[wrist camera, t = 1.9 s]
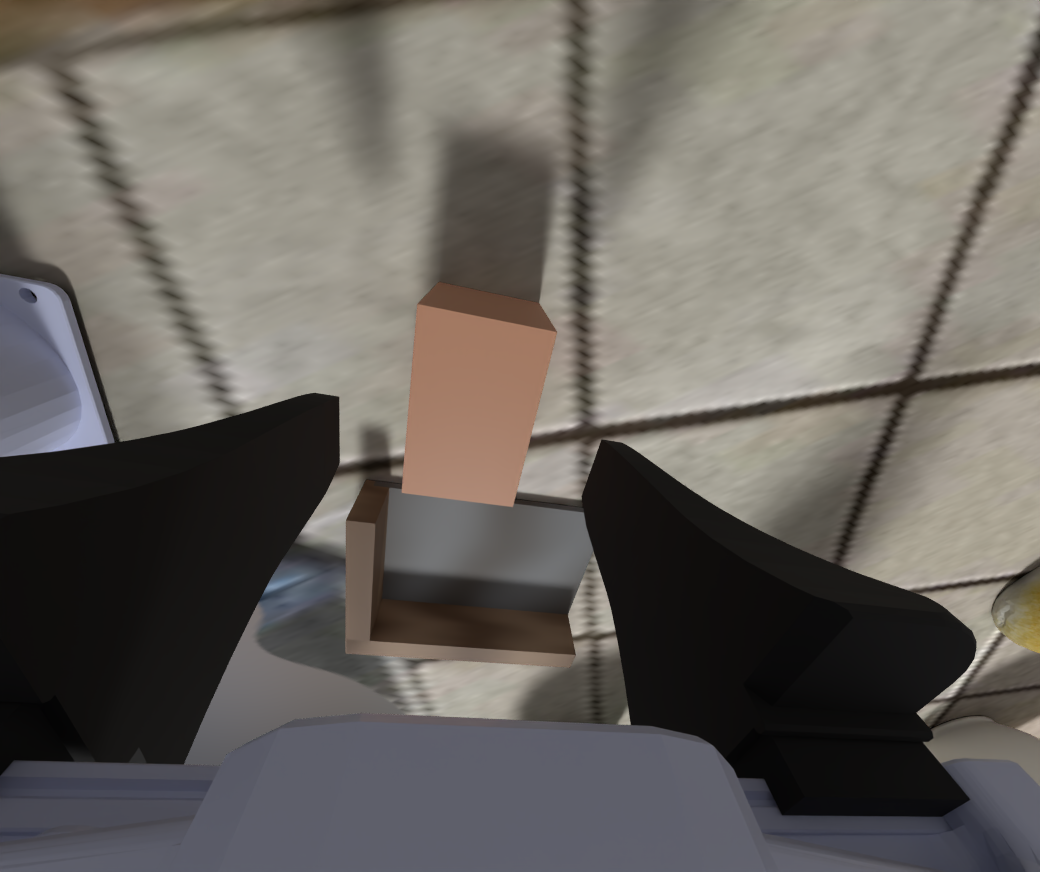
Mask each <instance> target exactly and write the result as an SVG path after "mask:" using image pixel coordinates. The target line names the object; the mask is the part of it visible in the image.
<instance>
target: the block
mask: <svg viewBox="0 0 1040 872" xmlns="http://www.w3.org/2000/svg"><path fill="white" fill-rule="evenodd" d="M556 334H557V331H556V330H555V328H554V326H553V325H552V323H551V321H550V320H549V318H548V317H547V315H546V313H545V312H544V310H543V309H542V307H541V305H540V304H539V303H536V302H532V301H527V300H522V299H517V298H513V297H508V296H503V295H499V294H494V293H489V292H484V291H480V290H475V289H470V288H465V287H461V286H456V285H451V284H447V283H442V282H438V283H437V284H436V285H435V286H434V287H433V288H432V289H431V291H430V292H429V293H428V294H427V295H426V296H425V297H424V298H423V299H422V300H421V301H420V302H419V303H418V304H417V315H416V327H415V338H414V350H413V362H412V374H411V386H410V398H409V410H408V421H407V433H406V445H405V457H404V469H403V481H402V493H406V494H414V495H422V496H430V497H438V498H446V499H453V500H461V501H469V502H477V503H485V504H493V505H501V506H509V507H513V505H514V501H515V497H516V493H517V489H518V485H519V481H520V477H521V473H522V469H523V465H524V461H525V457H526V453H527V449H528V445H529V441H530V437H531V433H532V429H533V425H534V421H535V418H536V414H537V410H538V406H539V402H540V398H541V394H542V390H543V386H544V382H545V378H546V374H547V370H548V366H549V362H550V358H551V354H552V350H553V346H554V342H555V338H556Z"/></svg>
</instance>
